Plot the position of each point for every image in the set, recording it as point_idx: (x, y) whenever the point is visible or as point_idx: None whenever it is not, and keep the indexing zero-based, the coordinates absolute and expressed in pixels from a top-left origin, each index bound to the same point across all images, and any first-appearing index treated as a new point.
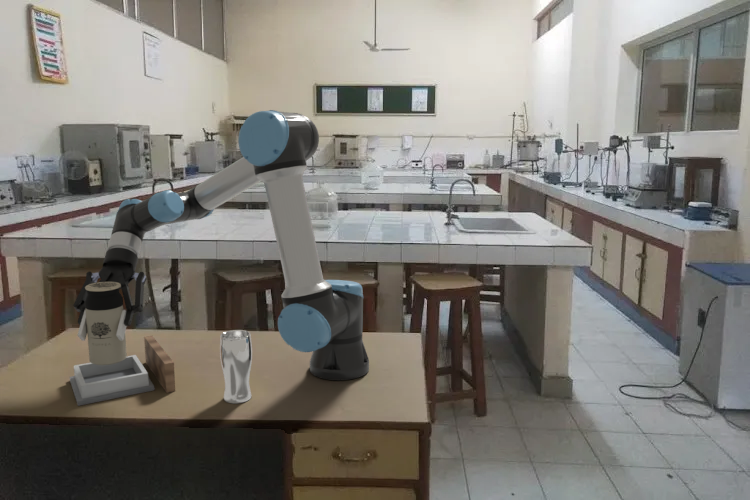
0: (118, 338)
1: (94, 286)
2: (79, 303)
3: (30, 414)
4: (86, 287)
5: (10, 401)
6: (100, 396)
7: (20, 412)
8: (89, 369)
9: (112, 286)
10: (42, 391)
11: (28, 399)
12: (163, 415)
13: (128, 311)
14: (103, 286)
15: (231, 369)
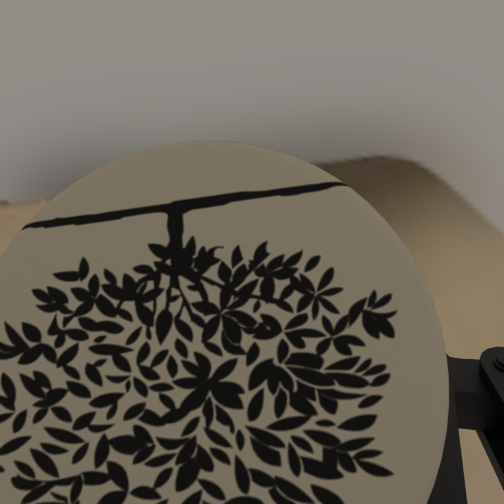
0: None
1: (275, 268)
2: (489, 378)
3: (354, 164)
4: (347, 196)
5: (472, 217)
6: None
7: (388, 168)
8: None
9: (23, 317)
10: (439, 292)
11: (433, 236)
12: (27, 215)
13: None
14: (149, 293)
15: None
